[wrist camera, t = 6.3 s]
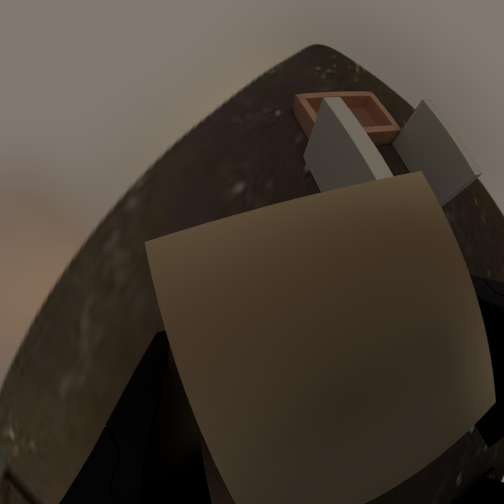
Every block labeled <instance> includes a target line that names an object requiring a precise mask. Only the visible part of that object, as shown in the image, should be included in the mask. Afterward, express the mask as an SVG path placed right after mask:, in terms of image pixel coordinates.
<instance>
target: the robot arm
mask: <svg viewBox="0 0 504 504" xmlns="http://www.w3.org/2000/svg"><path fill="white" fill-rule="evenodd" d="M470 277H471V280H472V283H473V286H474V290H475V293H476V296H477V300H478V303H479V307H480V310H481V314H482V318H483V322H484V326H485V331H486V335H487V340H488V345H489V351H490V357H491V363H492V370H493V378H494V387H495V399H496V402H495V403H494V405H493V406H492V407H491V408H490V409H489V410H488V411H487V412H486V413H485V414H484V415H483V416H482V418H481V419H480V420H479V421H478V422H477V423H476V424H475V426H476V427H477V429H478V430H479V432H480V434H481V436H482V437H483V439H484V441H485V442H486V444H487V446H488V447H489V448H490V447H491V446H493V445H494V444H495V443H496V442H498V441H499V440H500V439H501V438H502V437H504V282H499V281H495V280H491V279H487V278H482V277H479V276H475V275H471V274H470ZM106 426H107V427H104V429H103V431H102V433H101V435H100V437H99V439H98V441H97V442H96V444H95V446H94V448H93V450H92V452H91V454H90V455H89V457H88V459H87V460H86V462H85V464H84V465H83V467H82V469H81V470H80V472H79V473H78V475H77V477H76V478H75V480H74V481H73V483H72V485H71V486H70V488H69V489H68V491H67V493H66V494H65V496H64V497H63V499H62V500H61V502H60V503H59V504H212V503H211V499H210V494H209V489H208V484H207V480H206V474H205V469H204V464H203V458H202V452H201V446H200V440H199V434H198V427H197V421H196V418H195V416H194V413H193V410H192V408H191V405H190V403H189V400H188V397H187V394H186V392H185V389H184V386H183V383H182V380H181V378H180V375H179V372H178V369H177V366H176V363H175V359H174V356H173V353H172V350H171V347H170V343H169V340H168V337H167V333H166V330H164V331H161V332H158V333H156V335H155V336H154V338H153V340H152V342H151V343H150V345H149V347H148V348H147V350H146V352H145V354H144V355H143V357H142V359H141V361H140V362H139V364H138V366H137V368H136V370H135V371H134V373H133V375H132V377H131V379H130V380H129V382H128V384H127V386H126V388H125V390H124V391H123V393H122V395H121V397H120V399H119V401H118V403H117V404H116V406H115V408H114V410H113V412H112V414H111V416H110V418H109V420H108V421H107V423H106ZM495 471H496V469H495V468H491V469H490V470H489V472H488V473H487V474H486V475H485V476H484V477H483V478H482V479H481V480H480V481H479V482H478V483H477V484H476V485H475V486H474V487H472V488H471V489H470V490H469V491H468V492H467V493H466V494H465V495H464V496H463V497H461V498H460V499H459V500H458V501H457V502H456V503H454V504H504V482H501V481H497V480H494V479H495Z"/></svg>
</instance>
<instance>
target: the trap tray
mask: <svg viewBox="0 0 504 504" xmlns="http://www.w3.org/2000/svg"><path fill="white" fill-rule="evenodd" d="M327 97H340V98H341V99H342V100H343V101H344V103H345V104H346V105H347V107H348V108H349V109H350V111H351V112H352V113H353V115H354V116H355V117H356V119H357V120H358V122H359V123H360V124H361V126H362V127H363V129H364V130H365V132H366V133H367V135H368V136H369V138H370V139H371V141H372V142H373V144H374V145H375V146H378V145H387V144H392V143H393V142H394V140H395V139H396V137H397V136H398V135H399V133H400V132H401V129H400V127H399V126H398V125H397V123H396V122H395V121H394V119H393V118H392V117H391V115H390V114H389V113H388V111H387V110H386V109H385V108H384V106H383V105H382V104H381V103H380V101H379V100H378V99H377V98H376V96H375V95H374V94H373V93H372V92H323V93H307V94H296V95H295V99H294V103H293V108H292V113H293V114H294V116H295V118H296V119H297V121H298V123H299V124H300V126H301V128H302V129H303V131H304V133H305V134H306V136H307V138H308V139H309V138H310V135H311V132H312V129H313V127H314V124H315V121H316V118H317V115H318V112H319V109H320V106H321V103H322V100H323V98H327Z"/></svg>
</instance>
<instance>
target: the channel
mask: <svg viewBox="0 0 504 504" xmlns="http://www.w3.org/2000/svg"><path fill="white" fill-rule="evenodd" d="M392 145H393V146H394V148H395V149H396V151H397V152H398V154H399V156H400V157H401V159H402V160H403V162H404V164H405V165H406V167H407V169H408V170H409V172H410V173H413V172H418V171H422V173H423V175H424V176H425V178H426V180H427V182H428V183H429V185H430V187H431V189H432V191H433V192H434V194H435V196H436V198H437V200H438V202H439V204H440V206H441V207H442V206H443V205H445V204H446V203H447V202H449V201H450V200H451V199H452V198H454V197H455V196H456V195H457V194H458V193H460V192H461V191H462V190H463V189H465V188H466V187H467V186H468V185H469V184H471V183H472V182H473V181H474V180H475V179H477V178H478V177H479V176H480V175H481V174H482V172H481V171H480V169H479V167H478V166H477V164H476V162H475V161H474V159H473V157H472V156H471V154H470V153H469V151H468V149H467V148H466V146H465V145H464V143H463V142H462V140H461V139H460V137H459V136H458V134H457V133H456V132H455V130H454V129H453V127H452V126H451V125H450V123H449V122H448V121H447V120H446V118H445V117H444V115H443V114H442V113H441V112H440V111H439V109H438V108H437V107H436V105H435V104H434V103H433V102H432V101H431V100H426V99H422V101H421V102H420V104H419V105H418V107H417V108H416V110H415V111H414V113H413V114H412V116H411V117H410V119H409V120H408V121H407V123H406V124H405V126H404V127H403V129H402V130H401V132H400V133H399V135H398V136H397V137H396V139H395V140H394V142H393V143H392ZM303 158H304V160H305V162H306V164H307V165H308V167H309V169H310V171H311V173H312V175H313V177H314V179H315V181H316V183H317V185H318V187H319V189H320V191H321V193H322V192H326V191H330V190H335V189H339V188H343V187H347V186H352V185H356V184H361V183H365V182H370V181H374V180H379V179H384V178H389V177H393V175H392V173H391V171H390V169H389V168H388V166H387V164H386V163H385V161H384V159H383V158H382V156H381V155H380V153H379V151H378V150H377V148H376V147H375V145H374V144H373V142H372V141H371V139H370V138H369V136H368V135H367V133H366V132H365V130H364V129H363V127H362V126H361V124H360V123H359V122H358V120H357V119H356V117H355V116H354V115H353V113H352V112H351V111H350V109H349V108H348V107H347V105H346V104H345V103H344V101H343V100H342V99H341V98H340V97H327V98H323V100H322V103H321V106H320V109H319V112H318V115H317V118H316V121H315V124H314V127H313V129H312V132H311V135H310V138H309V141H308V144H307V147H306V150H305V153H304V156H303Z"/></svg>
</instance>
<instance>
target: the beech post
mask: <svg viewBox="0 0 504 504" xmlns="http://www.w3.org/2000/svg"><path fill="white" fill-rule="evenodd" d="M145 246H146V251H147V256H148V261H149V265H150V270H151V274H152V279H153V283H154V287H155V292H156V296H157V300H158V304H159V308H160V311H161V315H162V319H163V322H164V326H165V330H166V333H167V337H168V340H169V343H170V347H171V350H172V353H173V356H174V359H175V363H176V366H177V369H178V372H179V375H180V378H181V380H182V383H183V386H184V389H185V392H186V394H187V397H188V400H189V403H190V405H191V408H192V410H193V413H194V416H195V418H196V421H197V423H198V426H199V428H200V430H201V433H202V435H203V437H204V440H205V442H206V444H207V447H208V449H209V451H210V453H211V456H212V458H213V460H214V462H215V464H216V466H217V468H218V470H219V472H220V474H221V477H222V479H223V481H224V482H225V484H226V486H227V488H228V490H229V492H230V494H231V496H232V498H233V500H234V501H235V503H236V504H366V503H367V502H369V501H371V500H373V499H375V498H377V497H379V496H380V495H382V494H384V493H386V492H387V491H389V490H391V489H392V488H394V487H396V486H397V485H399V484H401V483H402V482H404V481H405V480H407V479H408V478H410V477H411V476H413V475H414V474H416V473H417V472H419V471H420V470H421V469H423V468H424V467H425V466H427V465H428V464H430V463H431V462H432V461H433V460H435V459H436V458H437V457H439V456H440V455H441V454H442V453H444V452H445V451H446V450H447V449H448V448H450V447H451V446H452V445H453V444H454V443H455V442H456V441H458V440H459V439H460V438H461V437H462V436H463V435H464V434H465V433H466V432H467V431H468V430H469V429H471V428H472V427H473V426H474V425H475V424H476V423H477V422H478V421H479V420H480V419H481V418H482V416H483V415H484V414H485V413H486V412H487V411H488V410H489V409H490V408H491V407H492V406H493V405H494V403H495V402H496V399H495V387H494V378H493V370H492V363H491V357H490V351H489V345H488V340H487V335H486V331H485V326H484V322H483V318H482V314H481V310H480V307H479V303H478V300H477V296H476V293H475V290H474V286H473V283H472V280H471V277H470V274H469V272H468V269H467V266H466V263H465V261H464V258H463V255H462V253H461V250H460V248H459V245H458V243H457V241H456V238H455V236H454V234H453V231H452V229H451V227H450V225H449V222H448V220H447V218H446V216H445V214H444V212H443V210H442V208H441V206H440V204H439V202H438V200H437V198H436V196H435V194H434V192H433V191H432V189H431V187H430V185H429V183H428V182H427V180H426V178H425V176H424V175H423V173H422V171H418V172H413V173H408V174H403V175H398V176H393V177H389V178H384V179H379V180H374V181H370V182H365V183H361V184H356V185H352V186H347V187H343V188H339V189H335V190H330V191H326V192H322V193H318V194H314V195H310V196H306V197H302V198H298V199H294V200H290V201H286V202H282V203H278V204H274V205H270V206H267V207H263V208H259V209H255V210H252V211H248V212H244V213H241V214H237V215H234V216H230V217H227V218H223V219H220V220H216V221H213V222H209V223H206V224H202V225H199V226H196V227H192V228H189V229H186V230H182V231H179V232H176V233H172V234H169V235H166V236H163V237H160V238H156V239H153V240H150V241H147V242H145Z"/></svg>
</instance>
